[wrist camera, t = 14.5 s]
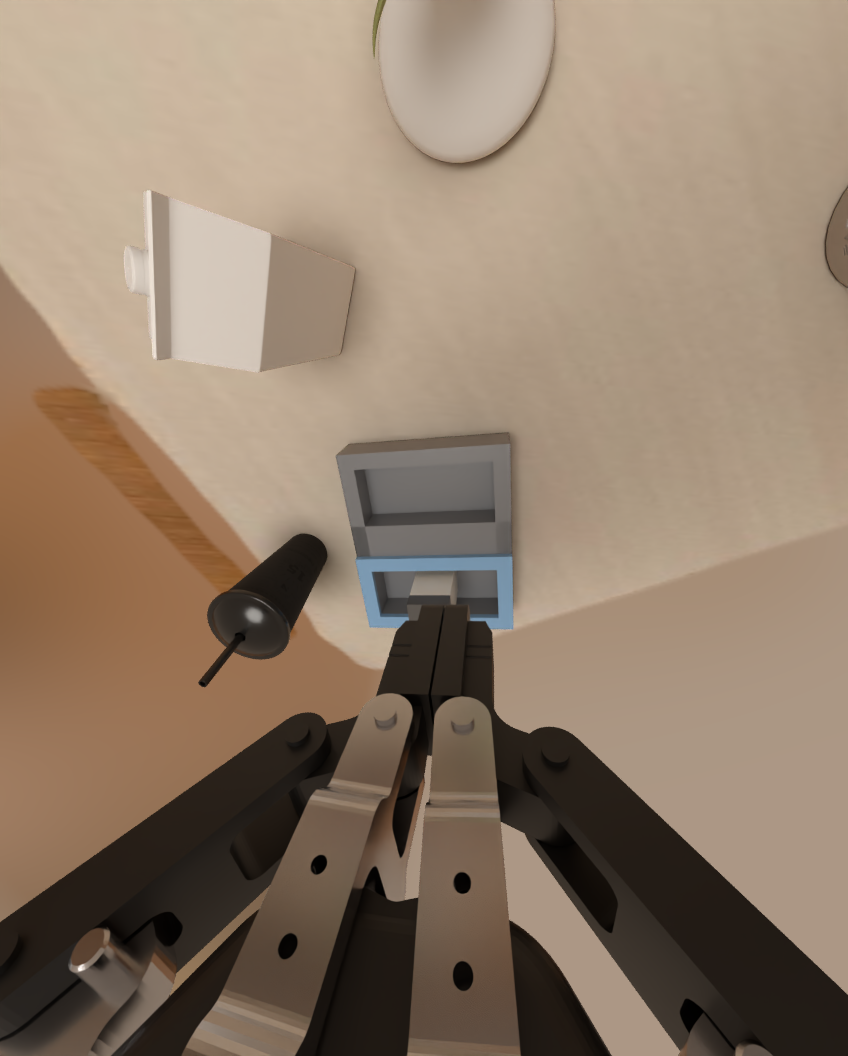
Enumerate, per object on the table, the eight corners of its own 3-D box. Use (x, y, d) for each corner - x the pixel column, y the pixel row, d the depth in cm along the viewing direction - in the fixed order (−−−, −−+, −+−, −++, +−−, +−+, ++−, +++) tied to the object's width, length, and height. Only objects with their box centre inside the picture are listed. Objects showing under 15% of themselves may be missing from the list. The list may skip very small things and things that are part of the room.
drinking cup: (322, 588, 50) (231, 732, 33) (268, 556, 49) (144, 686, 32) (350, 546, 47) (265, 681, 29) (292, 510, 46) (168, 628, 28)
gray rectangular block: (455, 560, 44) (448, 604, 37) (457, 589, 46) (451, 638, 39) (419, 560, 45) (406, 604, 38) (423, 590, 47) (411, 637, 40)
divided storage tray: (508, 432, 38) (510, 445, 34) (511, 602, 47) (513, 629, 43) (348, 444, 41) (333, 457, 37) (379, 602, 50) (369, 627, 46)
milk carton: (356, 267, 34) (227, 215, 17) (341, 355, 37) (220, 381, 21) (276, 241, 34) (70, 163, 17) (268, 330, 37) (89, 338, 21)
